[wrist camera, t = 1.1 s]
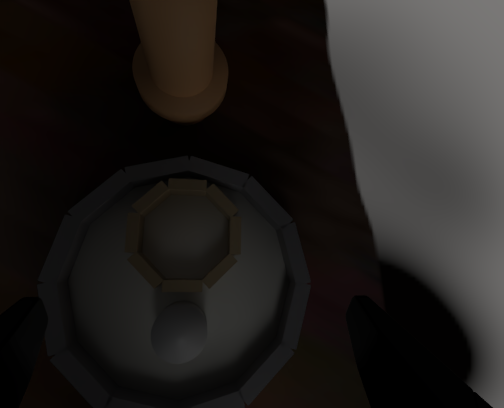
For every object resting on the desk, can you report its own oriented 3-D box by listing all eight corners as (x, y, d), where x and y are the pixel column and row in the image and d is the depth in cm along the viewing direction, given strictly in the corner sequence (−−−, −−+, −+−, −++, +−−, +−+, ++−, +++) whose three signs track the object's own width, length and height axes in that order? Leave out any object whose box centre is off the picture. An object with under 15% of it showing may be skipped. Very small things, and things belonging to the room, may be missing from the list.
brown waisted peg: (181, 153, 24) (160, 39, 11) (127, 95, 24) (48, -78, 12) (239, 106, 25) (275, -42, 13) (187, 51, 25) (174, -146, 13)
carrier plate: (175, 464, 20) (170, 504, 17) (5, 279, 20) (-33, 283, 17) (338, 281, 24) (361, 284, 20) (192, 127, 24) (191, 106, 21)
